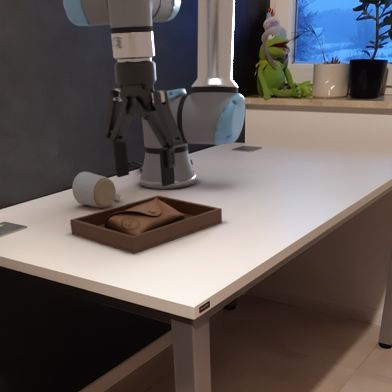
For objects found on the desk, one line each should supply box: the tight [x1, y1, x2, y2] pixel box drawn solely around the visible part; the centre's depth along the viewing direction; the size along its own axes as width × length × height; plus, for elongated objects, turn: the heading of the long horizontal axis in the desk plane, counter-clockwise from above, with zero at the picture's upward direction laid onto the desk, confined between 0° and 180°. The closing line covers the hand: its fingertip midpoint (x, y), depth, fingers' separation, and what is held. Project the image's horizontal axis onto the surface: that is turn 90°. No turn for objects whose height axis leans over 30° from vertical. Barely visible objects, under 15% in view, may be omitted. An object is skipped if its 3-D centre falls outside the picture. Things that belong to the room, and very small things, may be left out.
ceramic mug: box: [71, 171, 121, 209], centre depth 129 cm, size 11×8×8 cm
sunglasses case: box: [105, 197, 186, 236], centre depth 112 cm, size 18×7×7 cm
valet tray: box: [69, 195, 223, 254], centre depth 112 cm, size 20×25×3 cm
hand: (144, 180), depth 108 cm, fingers open, 13 cm apart
